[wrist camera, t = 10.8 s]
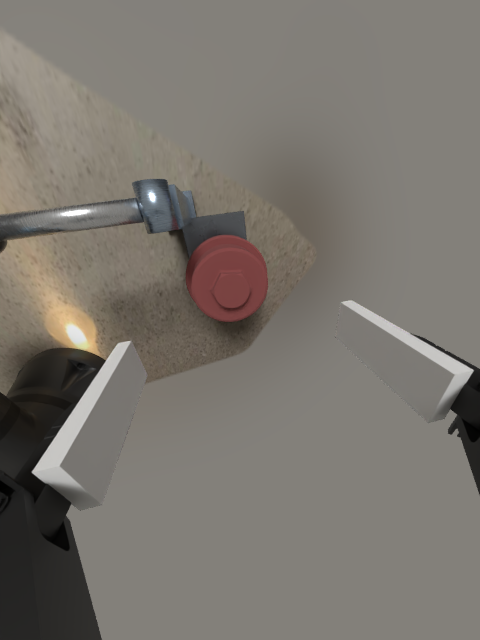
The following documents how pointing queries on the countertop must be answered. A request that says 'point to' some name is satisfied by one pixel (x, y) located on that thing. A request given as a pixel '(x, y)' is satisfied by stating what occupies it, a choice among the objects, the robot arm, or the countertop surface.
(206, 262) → the mechanical component
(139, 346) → the countertop surface
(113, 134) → the countertop surface
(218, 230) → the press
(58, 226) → the lever
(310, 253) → the countertop surface
